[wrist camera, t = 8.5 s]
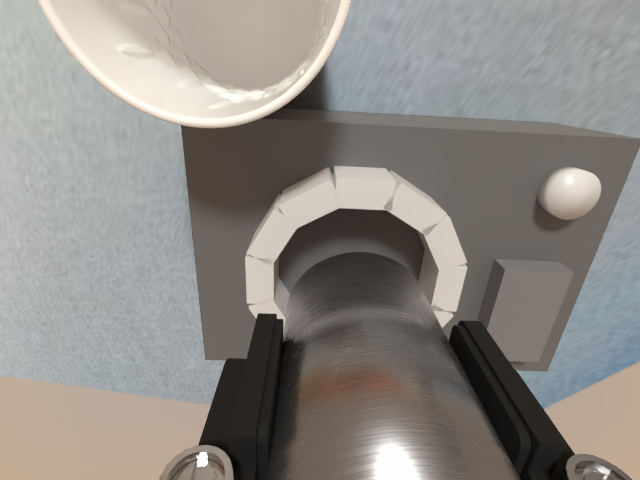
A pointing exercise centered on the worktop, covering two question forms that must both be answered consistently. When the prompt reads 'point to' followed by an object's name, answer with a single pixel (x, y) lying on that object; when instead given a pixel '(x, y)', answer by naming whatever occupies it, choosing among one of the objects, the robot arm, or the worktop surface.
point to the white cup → (201, 52)
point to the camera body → (403, 216)
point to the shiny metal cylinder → (375, 384)
